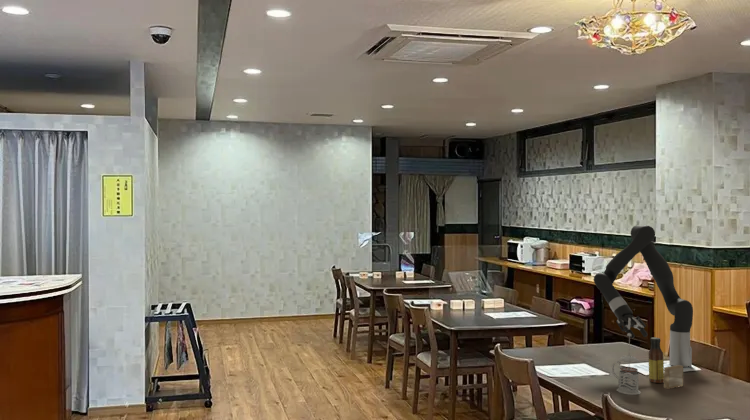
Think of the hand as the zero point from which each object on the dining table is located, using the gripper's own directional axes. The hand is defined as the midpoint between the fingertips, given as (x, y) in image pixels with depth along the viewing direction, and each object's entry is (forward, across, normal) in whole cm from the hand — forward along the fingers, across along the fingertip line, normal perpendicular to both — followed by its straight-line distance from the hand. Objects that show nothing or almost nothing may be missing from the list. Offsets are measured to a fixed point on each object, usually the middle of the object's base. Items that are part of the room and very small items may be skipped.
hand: (639, 336), depth 299 cm
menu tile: (+26, 0, 0) cm, 26 cm away
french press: (+23, -24, +4) cm, 33 cm away
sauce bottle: (+20, 0, +7) cm, 21 cm away
